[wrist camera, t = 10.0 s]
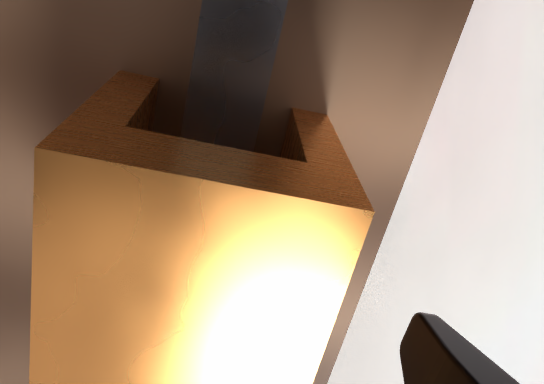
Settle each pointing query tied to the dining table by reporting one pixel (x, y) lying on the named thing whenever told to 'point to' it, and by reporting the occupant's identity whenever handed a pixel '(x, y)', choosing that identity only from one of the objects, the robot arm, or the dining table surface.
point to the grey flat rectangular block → (232, 70)
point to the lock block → (186, 249)
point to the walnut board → (173, 93)
